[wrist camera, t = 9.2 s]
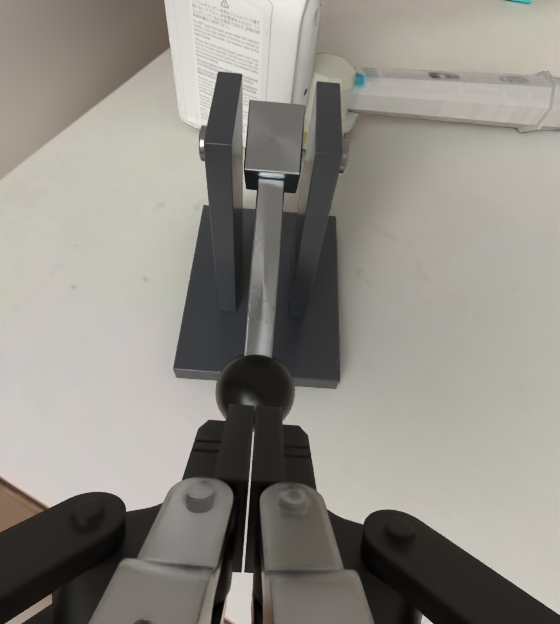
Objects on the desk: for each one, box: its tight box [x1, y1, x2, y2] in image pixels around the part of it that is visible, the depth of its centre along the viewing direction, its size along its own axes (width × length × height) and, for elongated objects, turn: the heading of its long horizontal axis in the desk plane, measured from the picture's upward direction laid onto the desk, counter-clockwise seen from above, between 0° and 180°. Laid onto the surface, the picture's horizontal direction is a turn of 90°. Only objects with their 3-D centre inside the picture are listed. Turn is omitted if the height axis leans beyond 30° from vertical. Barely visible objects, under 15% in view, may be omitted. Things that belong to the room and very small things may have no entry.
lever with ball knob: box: [216, 100, 305, 432], centre depth 18 cm, size 13×3×3 cm, turn 177°
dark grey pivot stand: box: [173, 72, 349, 389], centre depth 22 cm, size 12×9×13 cm
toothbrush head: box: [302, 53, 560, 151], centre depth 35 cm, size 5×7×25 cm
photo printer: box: [164, 0, 322, 148], centre depth 30 cm, size 10×4×12 cm, turn 65°
